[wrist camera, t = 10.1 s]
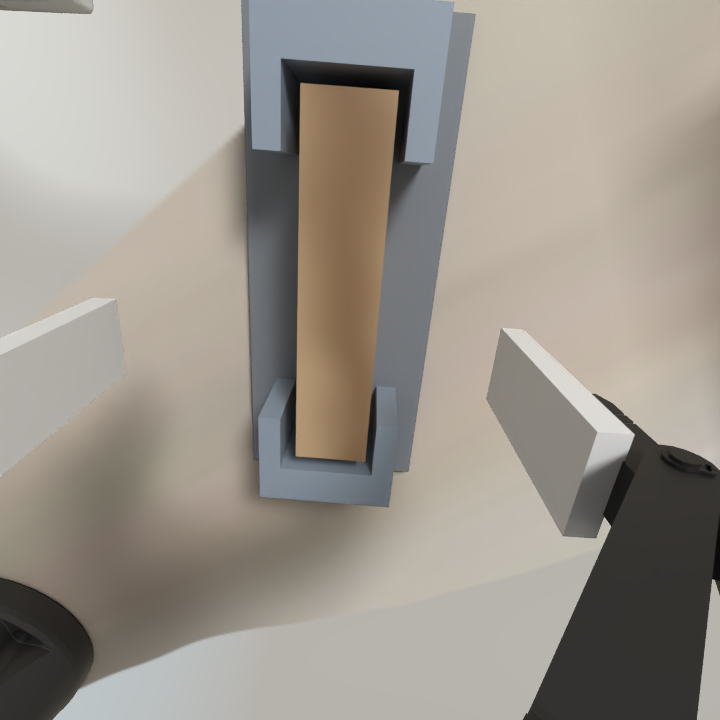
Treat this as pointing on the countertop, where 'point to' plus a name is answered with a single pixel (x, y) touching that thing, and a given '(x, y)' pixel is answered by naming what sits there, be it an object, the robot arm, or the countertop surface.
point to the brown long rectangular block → (340, 262)
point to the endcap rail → (404, 222)
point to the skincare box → (49, 6)
